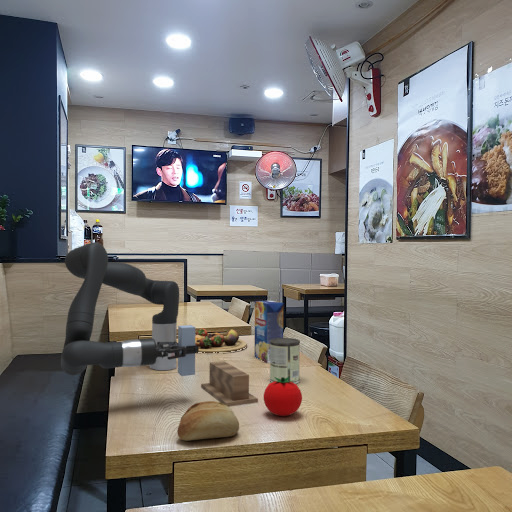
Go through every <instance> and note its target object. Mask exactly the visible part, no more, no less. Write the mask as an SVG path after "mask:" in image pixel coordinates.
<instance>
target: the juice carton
mask: <svg viewBox="0 0 512 512" xmlns="http://www.w3.org/2000/svg"><path fill="white" fill-rule="evenodd" d="M275 338H284V302H280V301H275V300H255V301H254V358H255V357H256V358H255V359H257V358H258V359H257V360H259V359H260V360H259V361H261V360H262V361H261V362H263V361H264V362H263V363H265V364H270V340H271V339H275Z"/></svg>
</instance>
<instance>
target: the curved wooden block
mask: <svg viewBox="0 0 512 512" xmlns="http://www.w3.org/2000/svg"><path fill="white" fill-rule="evenodd" d="M208 374H209V376H208V377H209V378H208V379H209V382H206V383H200V387H201V388H202V389H203V390H204V391H205V392H207V393H208V394H210V395H211V396H212V397H213V398H215V399H216V400H218V402H220V403H223V404H226V405H227V406H228V407H232V406H239V405H247V404H254V403H258V402H259V398H258V397H256V396H254V395H253V394H251V393H250V375H249V374H248V373H247V372H244V371H243V370H241V369H239V368H237V367H235V366H234V365H231V364H230V363H228V362H226V361H225V360H222V361H212V362H209V373H208Z"/></svg>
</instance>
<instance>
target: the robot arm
mask: <svg viewBox="0 0 512 512" xmlns="http://www.w3.org/2000/svg"><path fill="white" fill-rule="evenodd" d="M108 255H109V254H108V252H107V250H106V248H105V247H104V246H103V244H101V243H99V242H94V241H93V242H89V243H86V244H84V245H80V246H78V247H76V248H73V249H72V250H70V251H68V252H67V253H66V255H65V257H64V265H65V267H66V269H67V270H68V271H69V273H70V274H71V275H72V276H75V277H77V278H79V279H84V280H83V281H82V284H81V286H80V288H79V290H78V291H77V292H76V295H75V296H74V298H73V300H72V302H71V303H70V306H69V309H68V312H67V313H68V314H67V318H66V325H65V339H64V344H63V348H62V350H61V351H62V352H61V358H60V366H61V369H62V371H63V372H64V373H66V374H67V375H70V376H76V375H80V374H81V373H83V372H84V371H85V370H86V369H87V367H88V366H100V367H101V368H102V369H114V368H132V367H133V368H134V367H143V366H144V367H145V366H149V369H150V370H151V369H153V370H155V371H169V370H170V371H171V370H174V369H176V368H177V359H178V358H180V357H185V356H186V354H193V353H195V354H199V353H198V352H199V347H198V346H197V345H193V346H178V325H177V324H178V323H177V322H178V315H179V306H180V305H179V304H180V288H179V285H178V283H177V282H176V281H174V280H155V279H154V280H153V279H150V278H147V276H146V275H145V273H144V271H142V269H140V268H138V267H136V266H134V265H132V264H129V263H126V262H116V261H115V262H114V261H109V256H108ZM102 285H106V286H108V287H112V288H114V289H117V290H119V291H122V292H123V293H124V292H125V293H127V294H130V295H133V296H139V297H141V298H142V299H144V300H146V301H148V302H150V303H151V304H153V305H161V306H163V308H162V310H161V311H160V312H158V313H156V314H155V313H154V314H153V315H152V317H151V319H152V321H151V322H152V323H151V324H152V325H151V327H152V328H151V329H152V330H151V337H150V338H137V339H136V338H135V339H127V340H121V341H110V342H109V341H108V342H102V341H94V340H91V337H92V334H93V329H94V321H95V313H96V306H97V301H98V299H99V296H100V292H101V288H102ZM181 350H182V353H179V352H180V351H181Z"/></svg>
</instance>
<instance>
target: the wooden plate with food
mask: <svg viewBox="0 0 512 512" xmlns="http://www.w3.org/2000/svg"><path fill="white" fill-rule="evenodd" d="M208 333H209V332H208V331H207V329H205V328H203V327H201V328H198V330H196V331H195V345H197V346H198V347H199V352H202V353H204V352H205V353H213V352H215V353H216V352H217V353H219V352H231V351H237V350H240V349H243V348H245V347H246V346H247V347H248V343H247V342H246V341H245V340H243V339H240V335H239V333H238V332H237V331H236V330H234V329H231V328H230V330H229V331H228V332H227V335H224V334H220V333H219V332H212V333H209V334H208ZM247 347H246V348H247Z"/></svg>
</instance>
